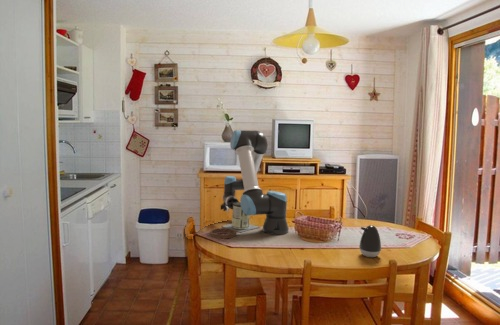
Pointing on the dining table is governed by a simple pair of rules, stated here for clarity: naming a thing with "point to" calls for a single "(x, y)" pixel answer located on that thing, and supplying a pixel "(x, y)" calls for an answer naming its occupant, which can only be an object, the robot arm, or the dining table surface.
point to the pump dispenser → (370, 242)
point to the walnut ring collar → (223, 235)
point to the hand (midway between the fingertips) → (239, 210)
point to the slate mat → (240, 229)
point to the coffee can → (239, 217)
